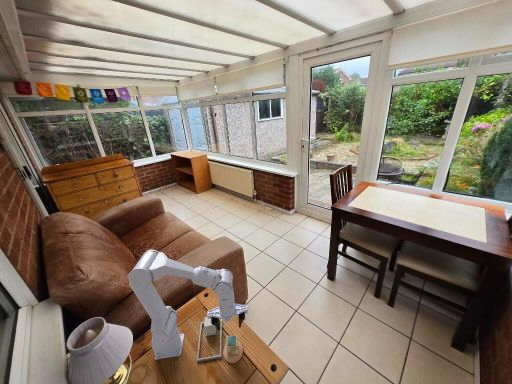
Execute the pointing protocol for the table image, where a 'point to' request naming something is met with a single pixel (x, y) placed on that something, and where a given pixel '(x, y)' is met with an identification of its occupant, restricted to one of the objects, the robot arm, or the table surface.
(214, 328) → the grey block
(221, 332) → the open rectangular frame
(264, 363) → the table surface
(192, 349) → the table surface
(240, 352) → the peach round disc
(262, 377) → the table surface
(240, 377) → the table surface
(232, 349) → the tan and teal block
